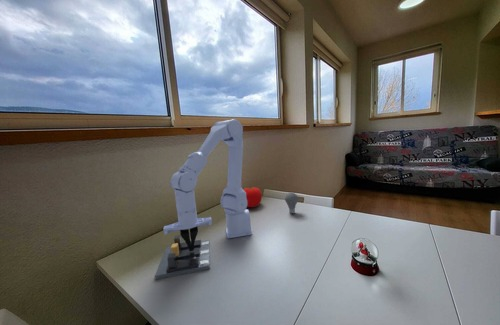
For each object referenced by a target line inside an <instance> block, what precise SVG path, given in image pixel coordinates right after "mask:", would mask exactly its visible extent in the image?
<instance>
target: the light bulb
mask: <svg viewBox="0 0 500 325" xmlns="http://www.w3.org/2000/svg"><path fill="white" fill-rule="evenodd" d="M284 196H285V197H284V201H285V203H286V204H287V207H288V210H289V213H290V214H292V213H293V214H295V213H296V209H295V208H296V205H297V203H298V202H299V197H298V195H297V194H296V193H294V192H288V193H287V194H286V195H284Z"/></svg>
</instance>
